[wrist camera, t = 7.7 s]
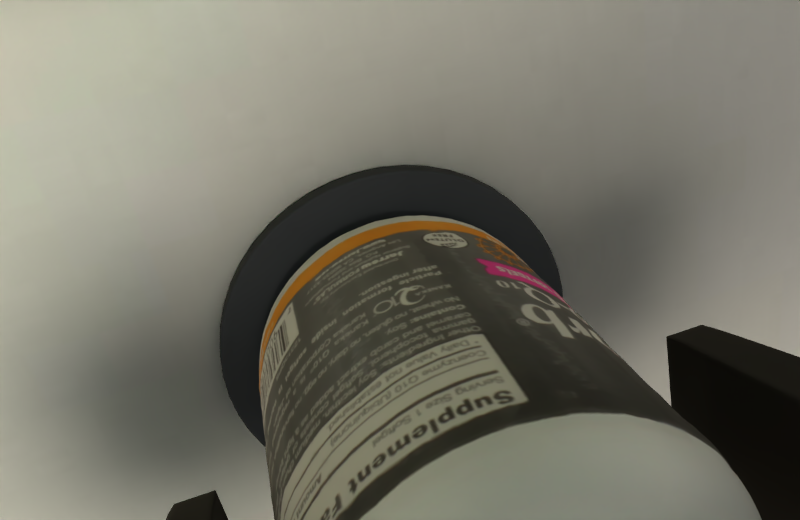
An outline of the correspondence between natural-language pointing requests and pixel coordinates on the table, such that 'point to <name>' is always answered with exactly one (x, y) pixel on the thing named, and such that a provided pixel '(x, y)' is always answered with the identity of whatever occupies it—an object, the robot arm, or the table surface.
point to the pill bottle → (464, 394)
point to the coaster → (336, 215)
